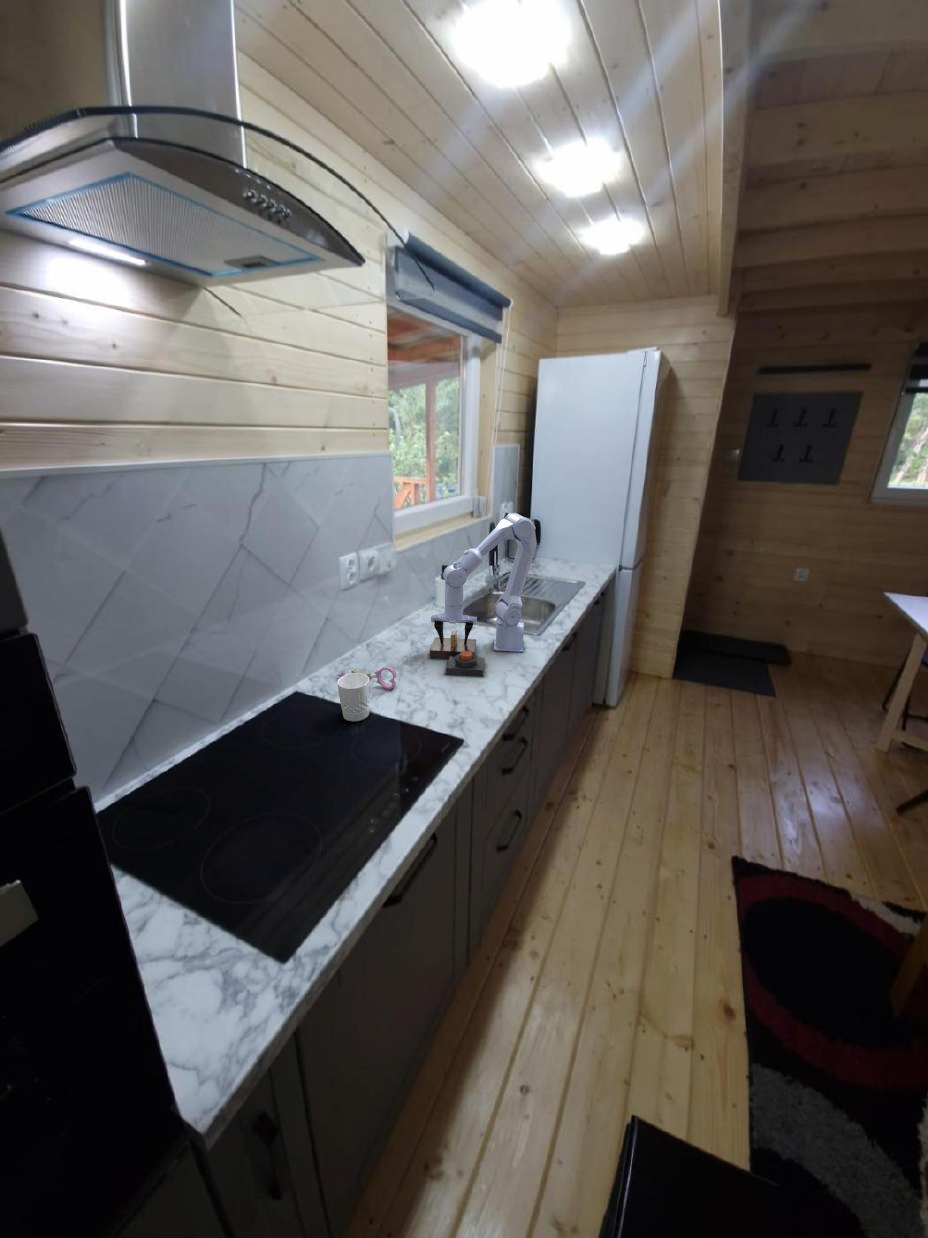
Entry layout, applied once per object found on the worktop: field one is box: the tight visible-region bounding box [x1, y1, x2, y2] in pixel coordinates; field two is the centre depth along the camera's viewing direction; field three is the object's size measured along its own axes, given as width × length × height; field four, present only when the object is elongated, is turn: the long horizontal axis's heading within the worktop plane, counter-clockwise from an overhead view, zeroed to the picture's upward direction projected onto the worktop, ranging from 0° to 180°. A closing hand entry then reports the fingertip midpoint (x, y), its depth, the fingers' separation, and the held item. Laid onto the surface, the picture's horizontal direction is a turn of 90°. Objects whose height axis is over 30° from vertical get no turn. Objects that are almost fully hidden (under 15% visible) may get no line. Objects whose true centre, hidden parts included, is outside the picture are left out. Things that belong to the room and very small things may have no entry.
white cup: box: [336, 672, 371, 722], centre depth 126 cm, size 8×8×10 cm
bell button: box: [460, 651, 472, 661], centre depth 150 cm, size 4×4×2 cm
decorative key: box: [335, 665, 397, 690], centre depth 142 cm, size 7×1×20 cm
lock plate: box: [429, 636, 477, 660], centre depth 161 cm, size 14×10×3 cm
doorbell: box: [446, 654, 486, 677], centre depth 151 cm, size 11×8×4 cm
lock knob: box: [450, 629, 458, 647], centre depth 160 cm, size 5×2×4 cm, turn 175°
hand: (453, 643), depth 161 cm, fingers open, 7 cm apart
